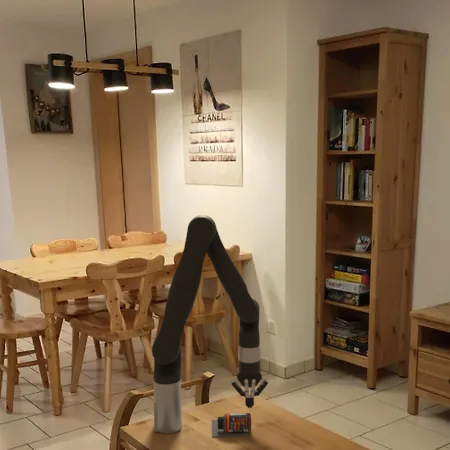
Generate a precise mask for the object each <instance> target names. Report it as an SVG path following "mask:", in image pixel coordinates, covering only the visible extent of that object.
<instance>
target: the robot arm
mask: <svg viewBox="0 0 450 450" xmlns="http://www.w3.org/2000/svg"><path fill="white" fill-rule="evenodd" d="M186 229H187V231H186V237H185V241H184V242H185V243H184V246H183V251H182V255H181V257H180V259H179V262H178V264H177V267H176V269H175V272H174V274H173V277H172V280H171V283H170V287H169V290H168V295H167V298H166V301H165V302H166V303H165V307H164V312H163V313H164V314H163V319H162V322H161V326H160V329H159V331H158V333H157V335H156V337H155V338H154V340H153V343H152V346H151V353H152V354H151V355H152V357H153V359H154V360H153V362H154V363H153V365H154V366H153V397H154V398H153V400H154V401H153V425H154V426H153V428H154V429H153V431H154V432H155V433H156V432H157V433H161V434H173V433H174V434H175V433H177V432H179V431H181V429H182V428H183V423H182V422H183V418H182V417H183V416H182V410H183V409H182V373H181V372H182V347H181V346H182V345H181V340H182V336H183V333H184V328H185V325H186V323H187V321H188V319H189V316H190V315H191V314H190V313H191V312H192V310H193V307H194V304H195V301H196V299H197V295H198V291H199V289H200V285H201V279H202V273H203V267H204V266H203V265H204V262H205V259H206V255H207V256H208V258H209V260H210V262H211V264H212V267H213V270H214V271H215V273H216V275H217V278H218V280H219V282H220V284H221V285H222V287H223V289H224V291H225V293H226V294H227V295H228V298H229V299H230V301H231V304H232V306H233V309H234V311H235V312H236V315H237V316H238V318H239V330H238V351H237V359H238V361H237V363H238V365H237V366H238V367H237V368H238V369H237V370H238V373H237V375H236V378H235V379H232V380H231V382H230V383H231V386H232V387H233V388H234V389H235V391H236V392H237V393H238V394H239V395H240V397H244V401H245V406H246V407H247V409H252V408H253V407H254V406H255V397H259V396H260V395H261V393H262V392H263V391H264V389H265V388H266V387H267V386H268V385H269V382H268V379H267V378H264V377H263V375H262V373H261V346H260V344H261V343H260V341H261V340H260V339H261V338H260V337H261V336H260V329H259V328H260V327H259V325H260V305H259V303H258V301H257V300H255V299H254V298H252V295H251V294H250V293H249V290H248V286H247V284H246V282H245V280H244V278H243V276H242V275H241V274H240V272H239V270H238V268H237V266H236V265H235V262H233V260H232V258H231V257H230V255H229V252H228V251H227V250H226V249H227V248H225V246H224V244H223V241H222V238H221V236H220V234H219V231H218V228H217V223H216V222H215V220H214V219H213V218H212V217H210V216H209V215H206V214H200V215H197V216H195V217H194V218H192V219H190V221H189V223H188V225H187V228H186ZM239 384H240V385H241V387H242V388H244V389H242V388H241V387H240V385H239ZM258 384H259V386H258ZM249 388H250V389H249Z"/></svg>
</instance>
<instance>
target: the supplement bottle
mask: <svg viewBox="0 0 450 450" xmlns="http://www.w3.org/2000/svg"><path fill="white" fill-rule="evenodd" d="M216 420H217V423H218V429H223V430H224V431H225V432H248V433H249V432H251V431H252V416H251V413H250V412H241V413H239V412H238V413H235V412H234V413H225V414H223V416H217V419H216Z"/></svg>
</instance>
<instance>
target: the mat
mask: <svg viewBox="0 0 450 450" xmlns="http://www.w3.org/2000/svg"><path fill="white" fill-rule="evenodd" d="M211 432H212V433H211V435H212V438H214V439H216V438H240V437H241V438H244V437H247V438H248V437H249V432H225V431H224V430H223V429H218V423H217V419H211Z"/></svg>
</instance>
